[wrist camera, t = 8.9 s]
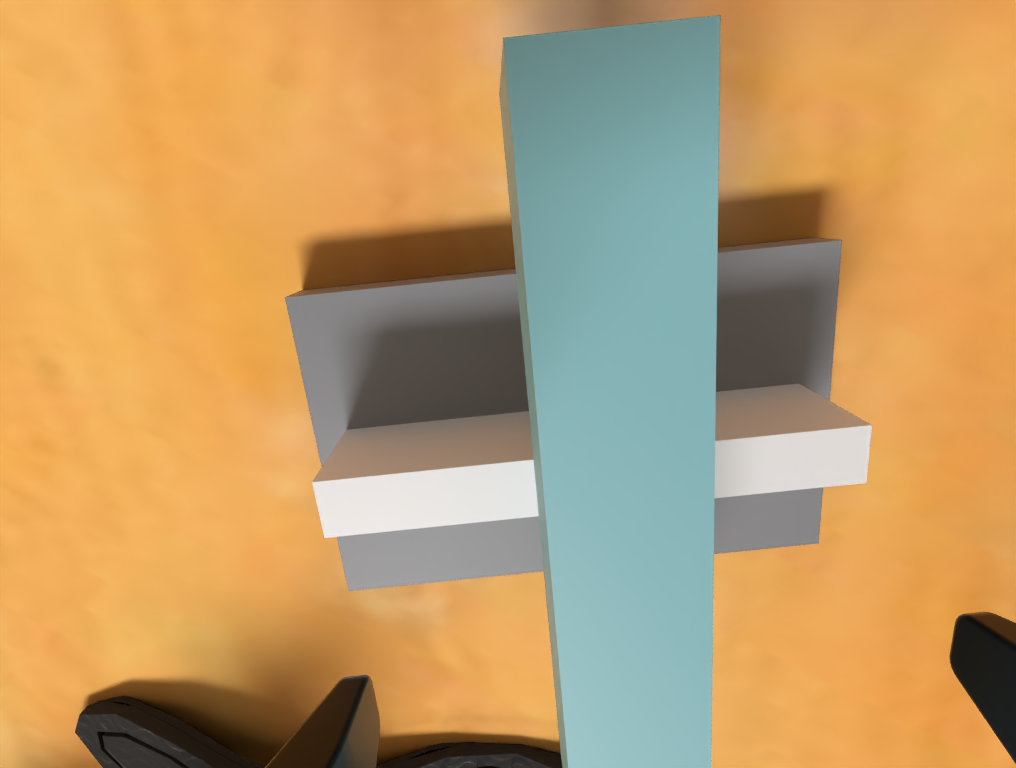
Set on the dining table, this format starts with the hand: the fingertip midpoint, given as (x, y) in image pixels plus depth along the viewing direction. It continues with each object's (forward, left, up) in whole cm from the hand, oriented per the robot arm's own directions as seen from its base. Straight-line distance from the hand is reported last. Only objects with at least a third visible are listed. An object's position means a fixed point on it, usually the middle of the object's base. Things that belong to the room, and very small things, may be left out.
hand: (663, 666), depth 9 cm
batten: (0, 0, -6) cm, 6 cm away
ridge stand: (0, 0, -11) cm, 11 cm away
